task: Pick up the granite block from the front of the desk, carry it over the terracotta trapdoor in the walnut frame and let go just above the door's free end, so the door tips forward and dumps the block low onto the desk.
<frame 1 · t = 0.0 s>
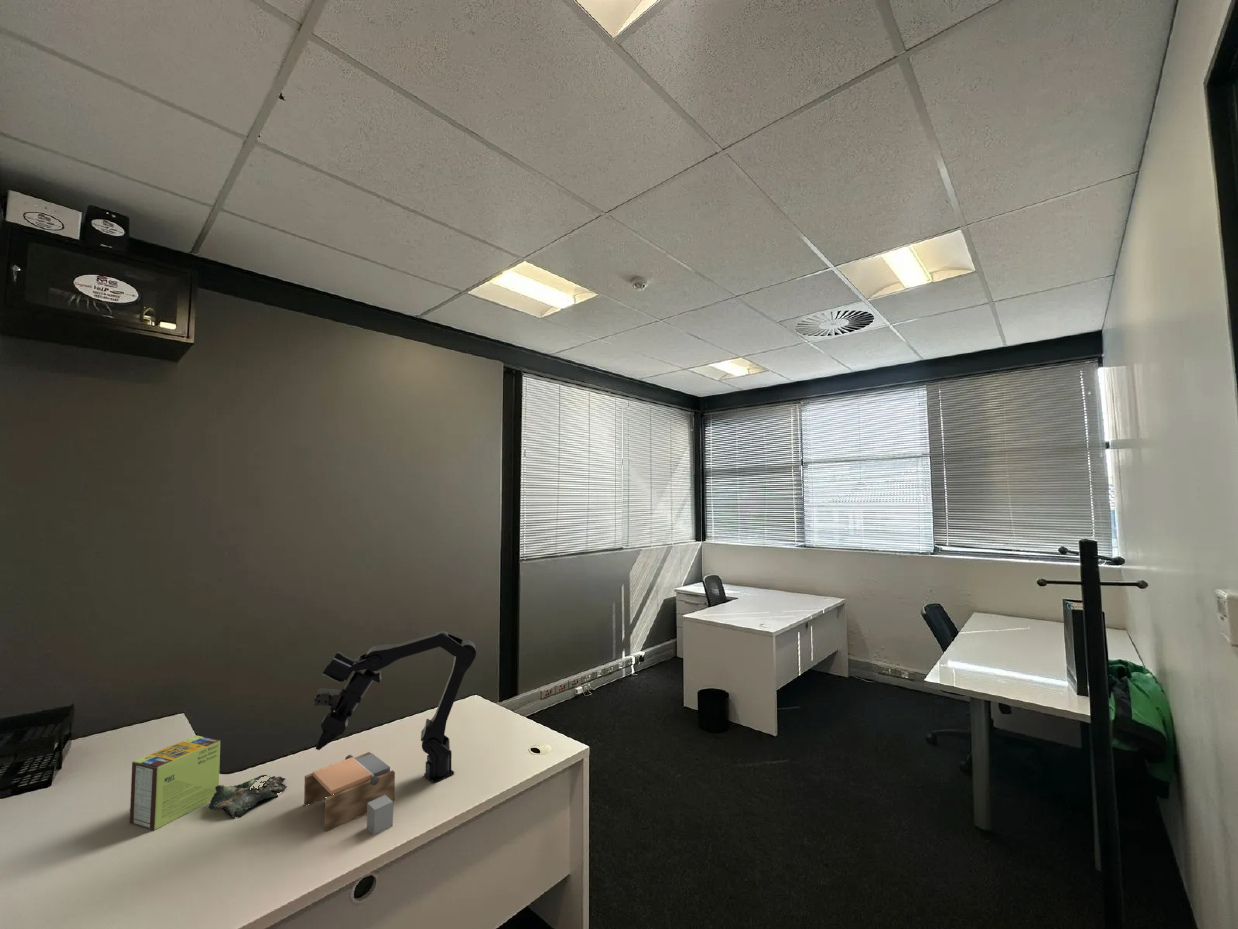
hand: (321, 741, 141), 15 cm above the table, tool tilted 35°, fingers open, 9 cm apart
stone: (379, 827, 127), on the table
trapdoor frame: (349, 802, 138), on the table
trapdoor: (352, 777, 139), point 6 cm above the table, hinge at 0.0°
protein box: (175, 810, 136), on the table
decorative rock: (251, 799, 141), on the table
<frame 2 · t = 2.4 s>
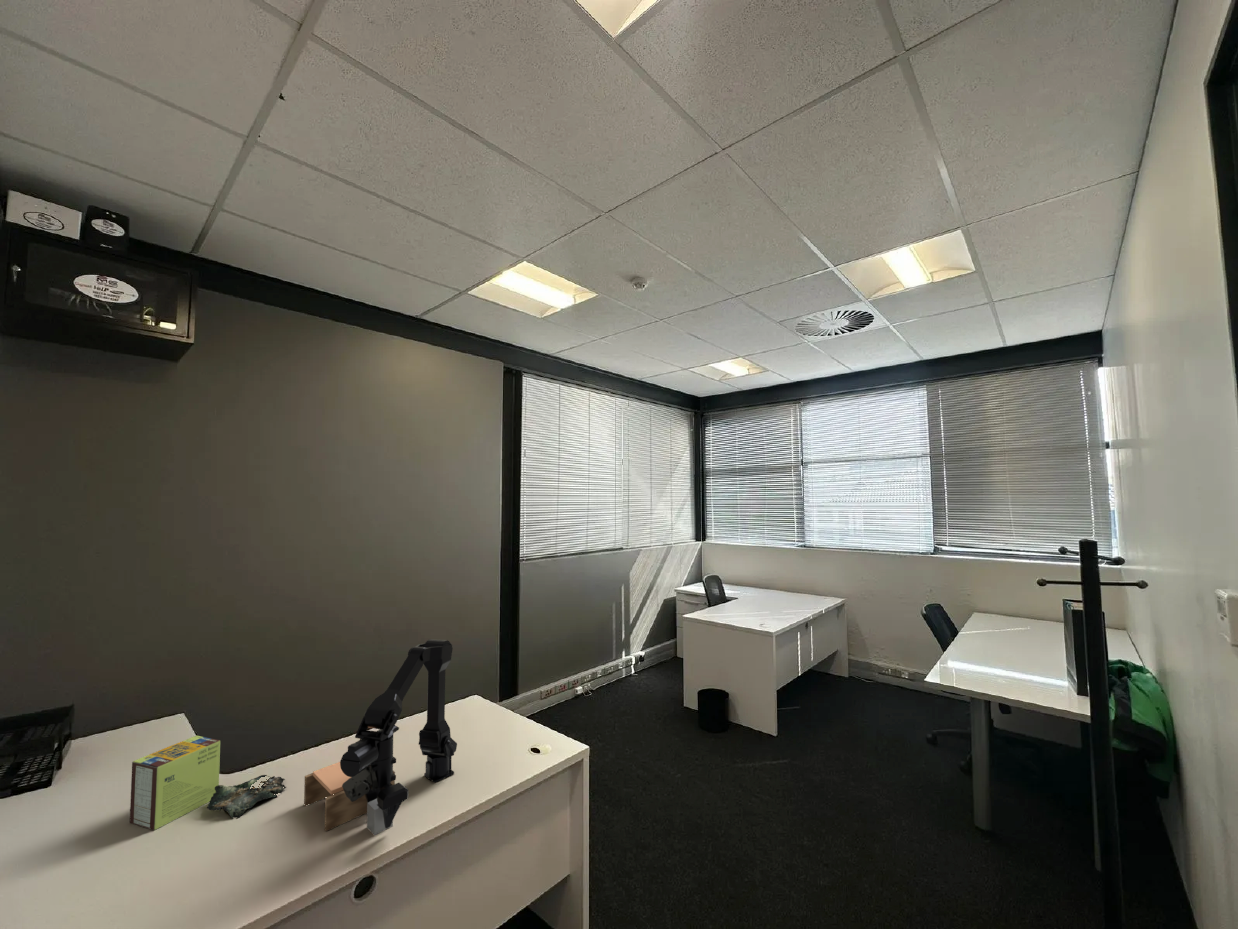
hand: (379, 820, 127), 2 cm above the table, tool pointing down, fingers open, 9 cm apart
nothing on the table moved.
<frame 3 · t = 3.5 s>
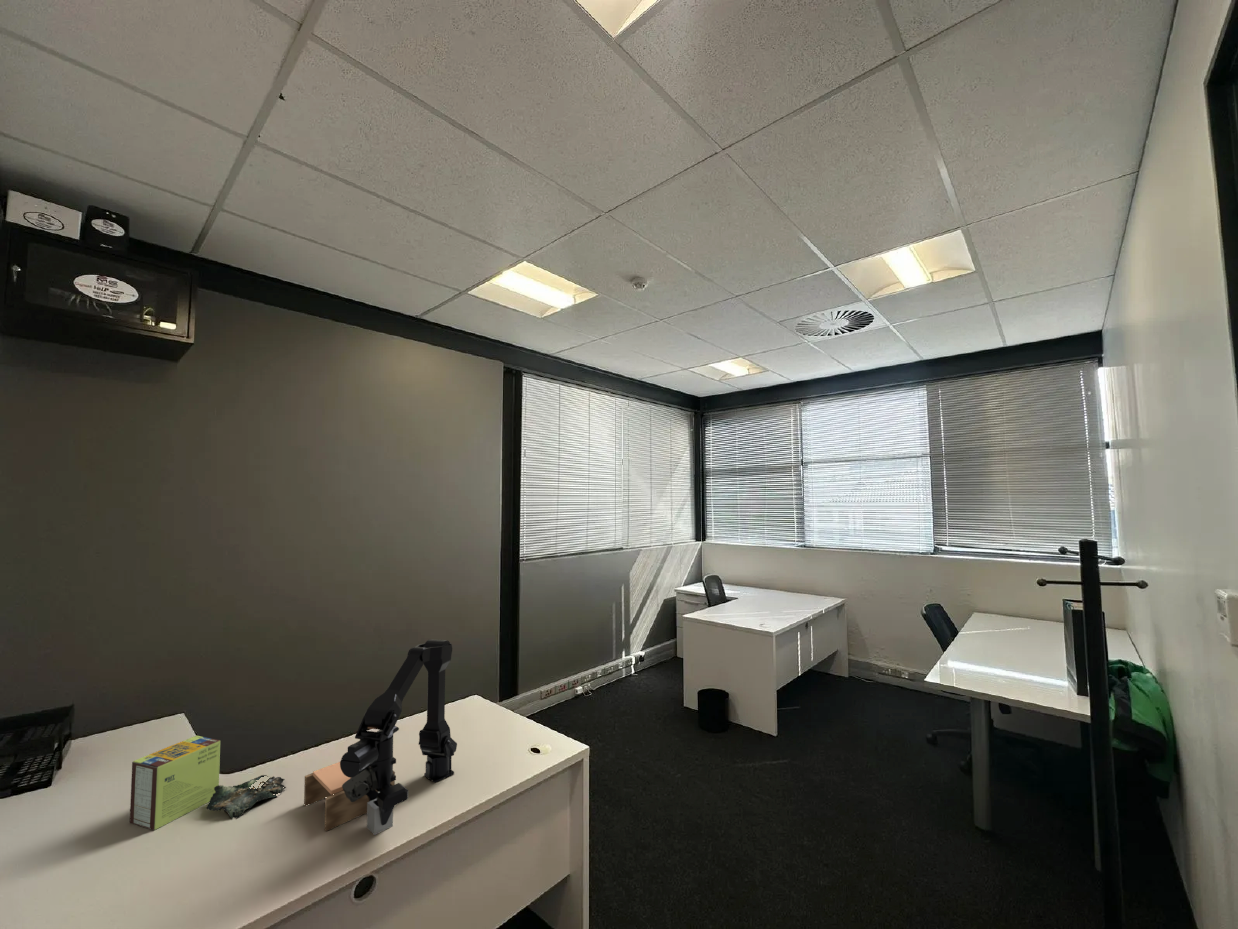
hand: (379, 820, 127), 2 cm above the table, tool pointing down, fingers closed on stone, 4 cm apart
stone: (379, 826, 127), on the table, touching gripper
everything else where it was.
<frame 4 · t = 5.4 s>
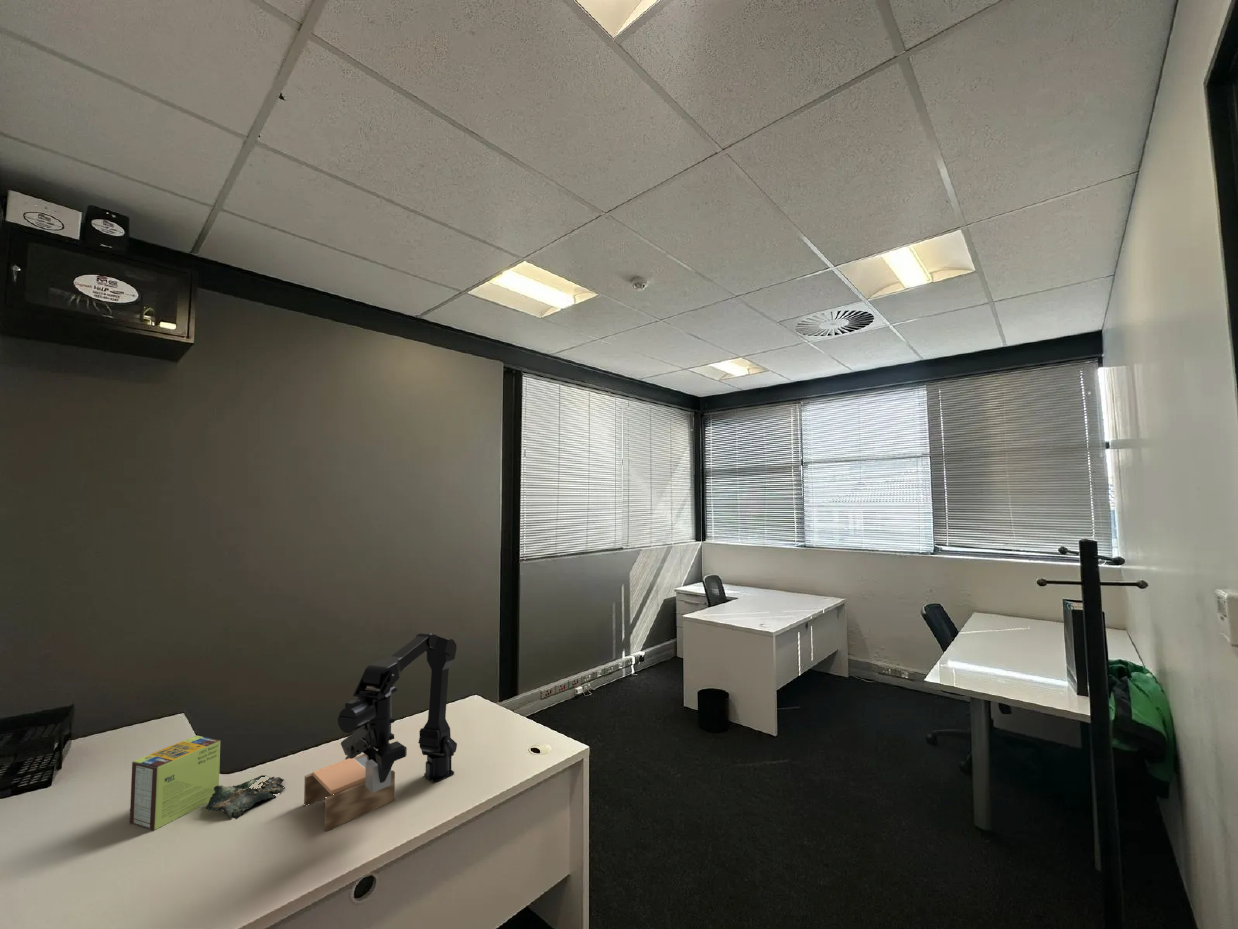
hand: (378, 778, 128), 11 cm above the table, tool pointing down, fingers closed on stone, 4 cm apart
stone: (378, 785, 128), point 10 cm above the table, touching gripper
everything else where it was.
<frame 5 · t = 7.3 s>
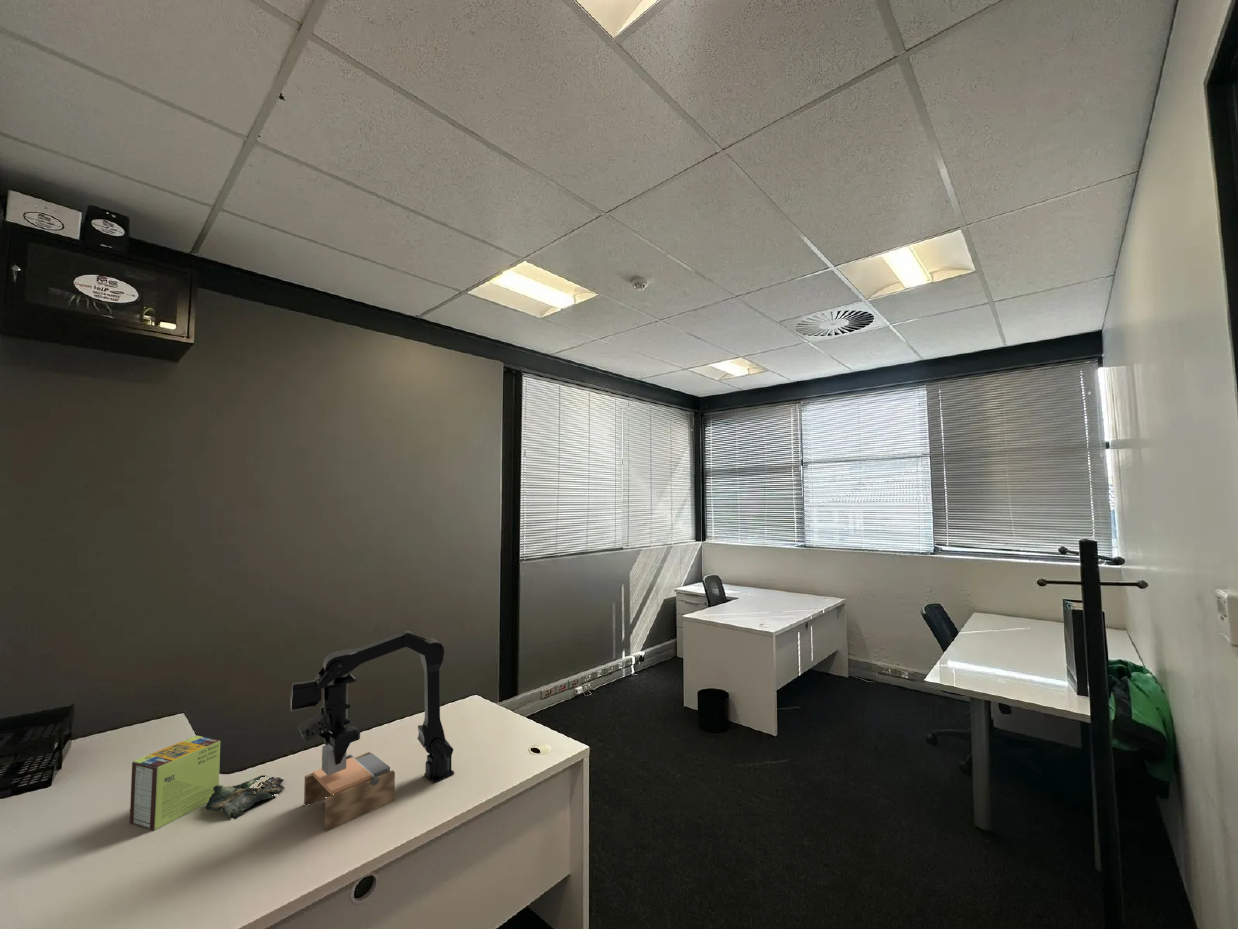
hand: (334, 761, 136), 12 cm above the table, tool pointing down, fingers closed on stone, 4 cm apart
stone: (334, 769, 135), point 10 cm above the table, touching gripper
everything else where it was.
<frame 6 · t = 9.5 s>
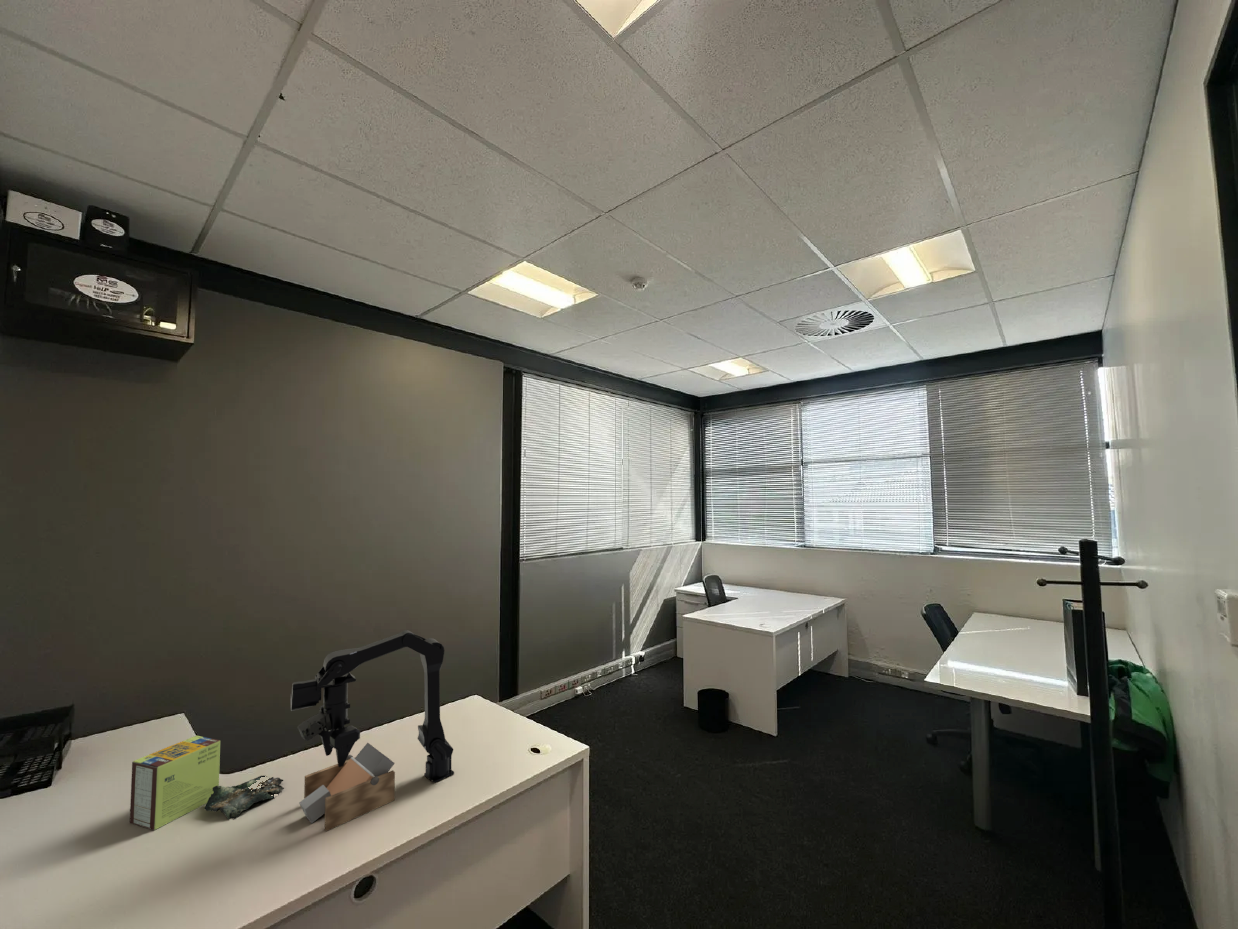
hand: (334, 760, 136), 12 cm above the table, tool pointing down, fingers open, 9 cm apart
stone: (329, 794, 134), point 4 cm above the table, tilted 111°, touching trapdoor
trapdoor: (359, 779, 140), point 5 cm above the table, hinge at -41.9°, touching stone
everything else where it was.
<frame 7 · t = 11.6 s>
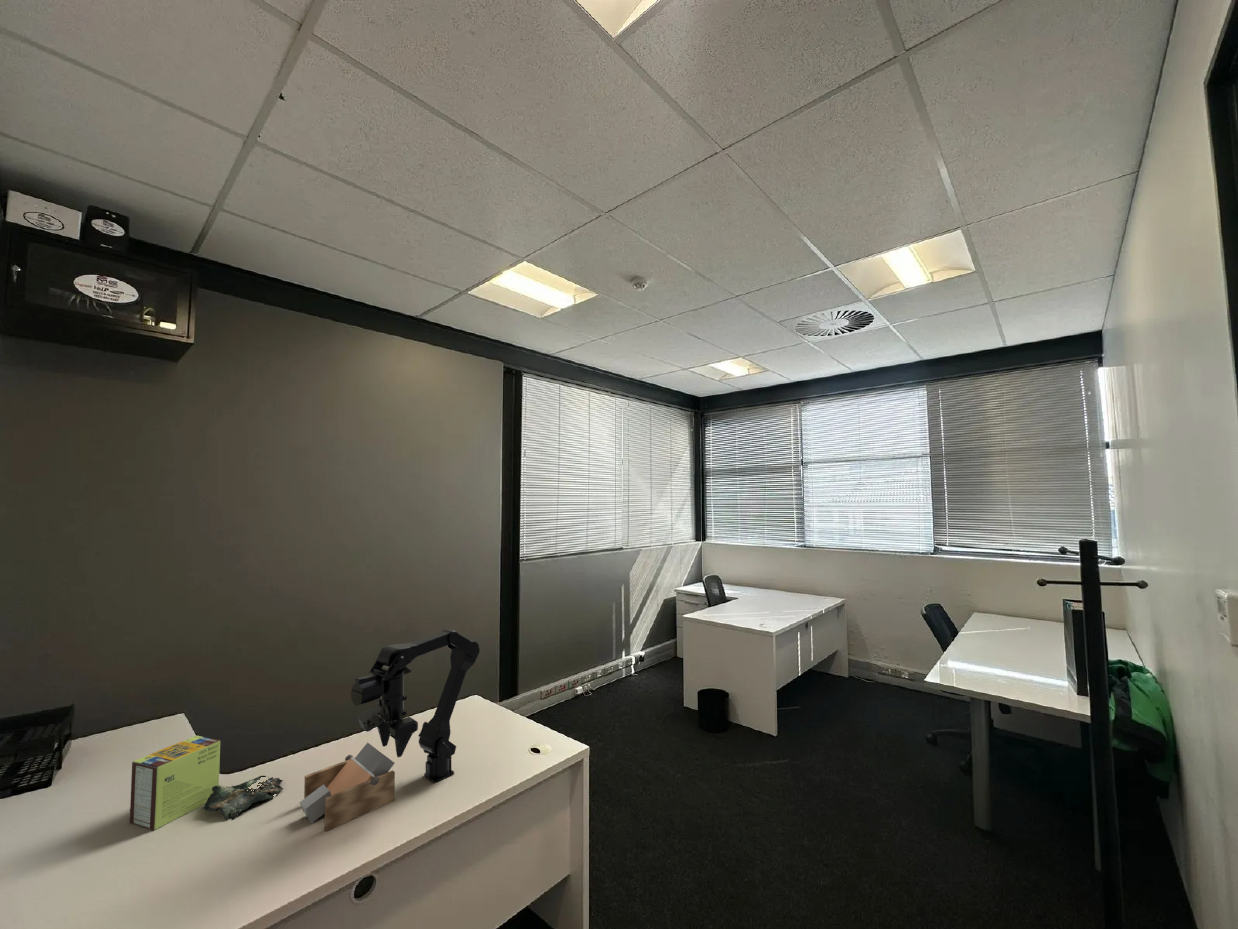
hand: (392, 751, 139), 13 cm above the table, tool pointing down, fingers open, 9 cm apart
nothing on the table moved.
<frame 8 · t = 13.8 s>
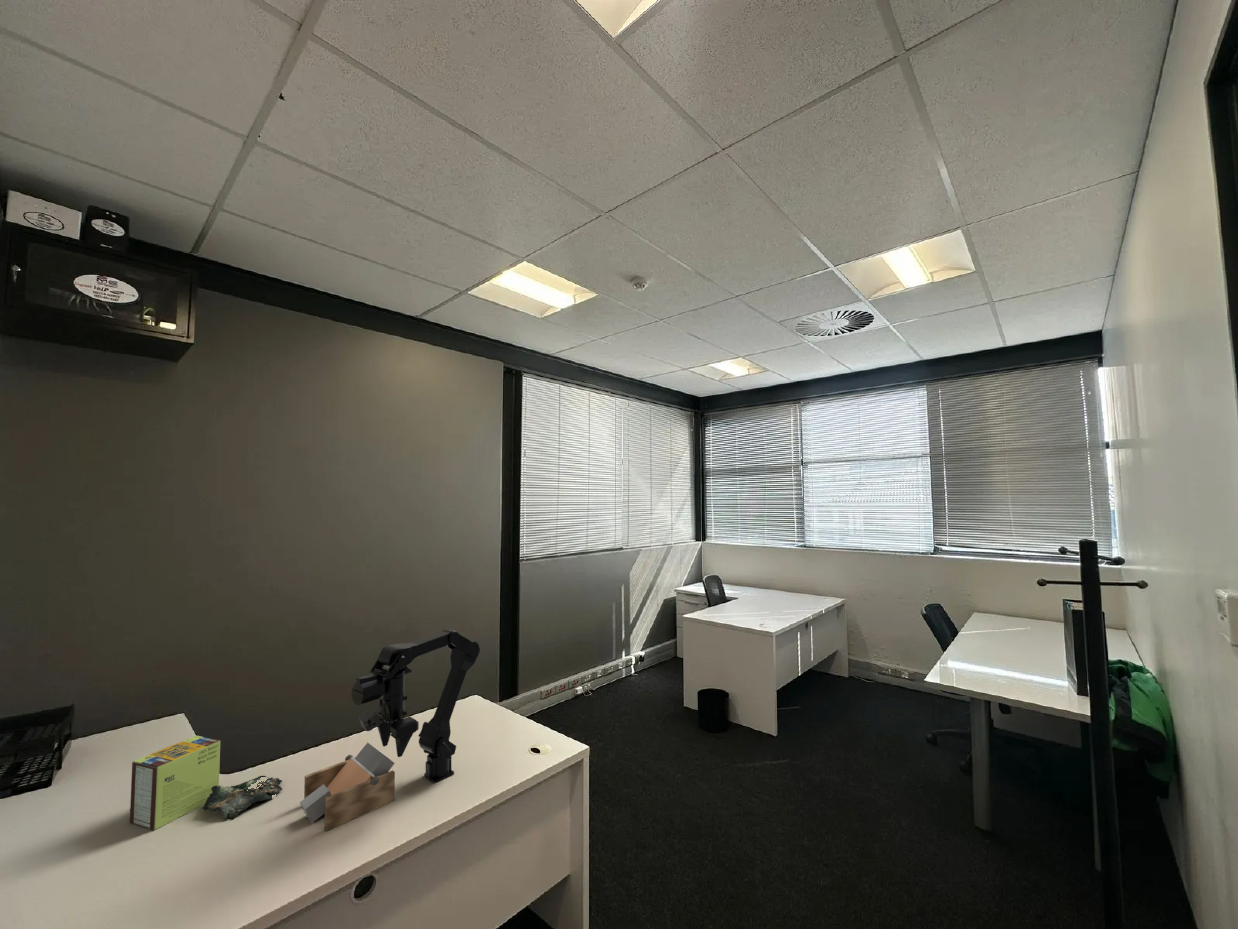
hand: (392, 751, 139), 13 cm above the table, tool pointing down, fingers open, 9 cm apart
nothing on the table moved.
at the end: stone moved 18.6 cm from its start; stone point 4.3 cm above the table; stone inside the target area (1.0 cm from its centre), point 4.3 cm above the table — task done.
